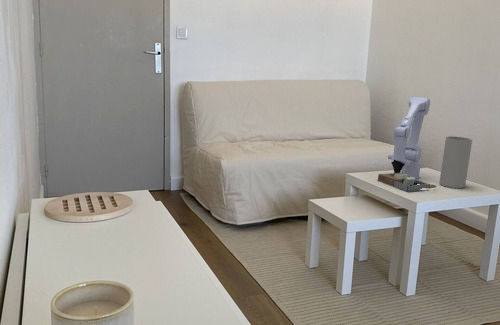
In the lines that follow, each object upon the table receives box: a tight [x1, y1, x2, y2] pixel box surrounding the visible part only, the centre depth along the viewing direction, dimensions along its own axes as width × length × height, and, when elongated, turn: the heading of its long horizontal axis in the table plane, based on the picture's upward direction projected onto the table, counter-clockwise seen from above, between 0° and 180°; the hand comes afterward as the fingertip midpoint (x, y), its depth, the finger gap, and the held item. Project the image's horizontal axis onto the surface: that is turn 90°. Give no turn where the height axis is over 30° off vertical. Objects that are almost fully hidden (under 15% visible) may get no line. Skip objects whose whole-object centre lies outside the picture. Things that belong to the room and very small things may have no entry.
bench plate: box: [377, 172, 410, 188], centre depth 248 cm, size 14×12×4 cm
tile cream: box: [394, 172, 408, 179], centre depth 245 cm, size 5×4×2 cm
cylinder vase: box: [439, 135, 473, 189], centre depth 246 cm, size 12×12×25 cm
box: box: [393, 179, 431, 193], centre depth 238 cm, size 14×10×3 cm
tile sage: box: [403, 177, 417, 186], centre depth 240 cm, size 5×4×2 cm
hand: (396, 175), depth 248 cm, fingers closed
